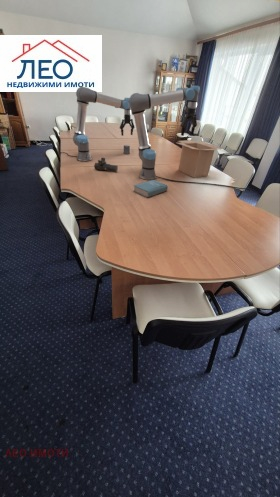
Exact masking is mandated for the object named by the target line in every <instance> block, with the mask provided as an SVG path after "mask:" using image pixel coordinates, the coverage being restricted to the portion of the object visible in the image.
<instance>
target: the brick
mask: <svg viewBox="0 0 280 497" xmlns="http://www.w3.org/2000/svg"><path fill="white" fill-rule="evenodd" d="M130 149H131V145H128V144H124V145H123V154H125V155H130V154H131V153H130Z"/></svg>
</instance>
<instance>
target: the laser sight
mask: <svg viewBox="0 0 280 497" xmlns="http://www.w3.org/2000/svg"><path fill="white" fill-rule="evenodd" d="M93 167H94V169H95V170H97V171H103V172H116V173H117V172H118V170H119V169H118V168H119V166H118V165H116V164H111V163H107V162H106V157H101V159H98V160H97V162H95V163H94V164H93Z"/></svg>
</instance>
